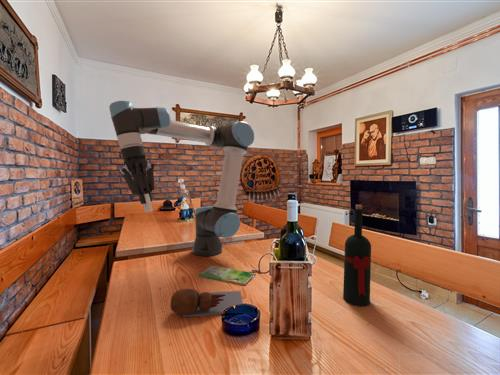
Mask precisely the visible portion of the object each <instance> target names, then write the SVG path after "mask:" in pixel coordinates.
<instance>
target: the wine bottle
mask: <svg viewBox="0 0 500 375" xmlns="http://www.w3.org/2000/svg"><path fill="white" fill-rule="evenodd" d="M363 213H364V212H363V205H362V204H355V209H354V232H353V233H354V234H351V235H350V236H348V237H347V238H346V240H345V243H344V258H343V261H344V262H343V263H344V265H343V291H342V292H343V294H342V295H343V296H342V300H344V301H345V302H346V303H347V304H350V305H352V306H354V307H355V306H356V307H367V306H369V305H370V304H371V271H372V270H371V268H372V267H371V266H372V264H371V263H372V244H371V242H370V240H369V239H368V238H367V237H366V236H364V235H363Z"/></svg>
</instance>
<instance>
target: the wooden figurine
mask: <svg viewBox="0 0 500 375" xmlns="http://www.w3.org/2000/svg"><path fill="white" fill-rule="evenodd" d="M199 293H201V294H200V296H199ZM223 296H225V295H222V294H211V292H208V291H203V292H199V291H198V290H197V289H194V288H183V289H178V290H176V291H175V292H173V293H172V296H171V298H170V310H171V311H172V312H174V313H176V314H179V315H182V316H183V315H188V314H192V313H194V312H195V311H196V310H197V309H198V306H199V309H200V310H209V309H210V308H212V307H216V306H217V304H220V302H217V301H223V300H224V299H219V298H220V297H223Z"/></svg>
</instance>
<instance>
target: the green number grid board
mask: <svg viewBox="0 0 500 375" xmlns="http://www.w3.org/2000/svg"><path fill="white" fill-rule="evenodd" d="M250 272H251V271H247V270H246V271H245V270H240V269H233V268H228V267H224V266H217V265H210V266H209V267H208V268H206V269H205V270H204V271H202V272H200V273H198V277H202V278H207V279H211V280H215V281H216V280H217V281H220V282H221V281H222V282H224V283H231V284H235V285H238V286H239V285H240V286H245V287H246V286H247V285H248V284H249V283H250V282H249V281H250V280H251V279H252V278H253V276H255V275H257V273H256V272H252V273H253V274H250ZM255 277H256V276H255ZM253 279H254V278H253ZM253 279H252V280H253ZM252 280H251V281H252ZM248 282H249V283H248Z"/></svg>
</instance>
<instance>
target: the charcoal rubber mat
mask: <svg viewBox="0 0 500 375" xmlns="http://www.w3.org/2000/svg"><path fill="white" fill-rule="evenodd" d="M201 293H202V292H199V296H200V294H201ZM210 293H211V294H222V295H225V296H223V297H220V298H219V299H224V300H223V301H217V302H220V304H217V306H216V307H212V308H210V309H209V310H200V309H199V306H198V309H197V310H196V311H195V312H194V313H192V314H188V315H182V318H193V317H206V316H207V317H208V316H222V315H221V314H222V312H223V311H224V309H226V308H227V307H229V306H235V305H237V304H243V305H244V303H243V298H242V291H241V290H236V291H235V290H233V291H232V290H231V291H217V292H214V291H213V292H210Z"/></svg>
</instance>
